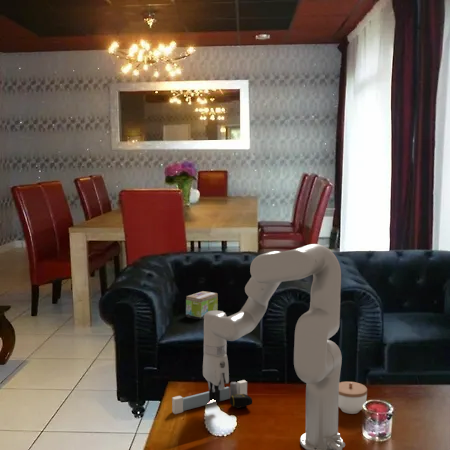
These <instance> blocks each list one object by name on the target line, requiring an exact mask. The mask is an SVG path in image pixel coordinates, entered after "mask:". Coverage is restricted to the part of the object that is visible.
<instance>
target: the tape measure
mask: <svg viewBox="0 0 450 450" xmlns="http://www.w3.org/2000/svg"><path fill="white" fill-rule="evenodd" d="M229 404H230V406H232V407H233V408H234V407H235V408H236V409H238V408H244V407H247V406H251V405H252V404H253V399H252V397H251V396H249V395H248V394H247V395H246V394H235V395H232V396H231V397H230V399H229Z"/></svg>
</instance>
